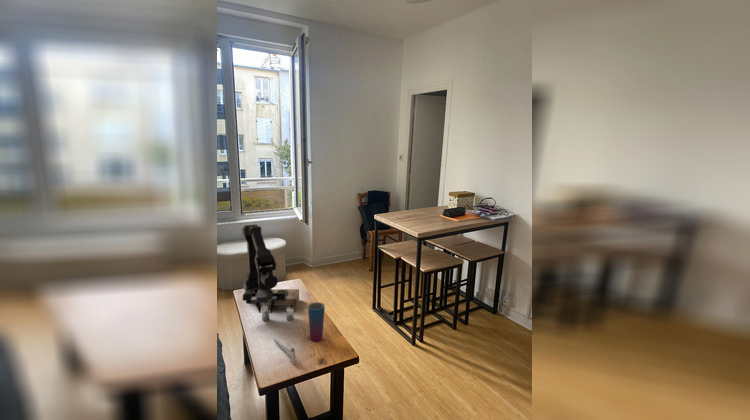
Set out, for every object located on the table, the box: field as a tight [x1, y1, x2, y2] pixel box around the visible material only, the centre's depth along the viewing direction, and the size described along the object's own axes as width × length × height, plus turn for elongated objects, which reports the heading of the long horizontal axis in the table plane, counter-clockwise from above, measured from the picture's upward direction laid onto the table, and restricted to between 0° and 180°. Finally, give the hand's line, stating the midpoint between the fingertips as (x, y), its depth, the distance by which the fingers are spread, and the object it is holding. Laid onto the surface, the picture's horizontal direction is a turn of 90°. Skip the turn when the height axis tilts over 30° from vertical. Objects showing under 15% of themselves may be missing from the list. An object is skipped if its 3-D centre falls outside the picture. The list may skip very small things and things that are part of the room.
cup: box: [307, 301, 326, 343], centre depth 155 cm, size 7×7×15 cm
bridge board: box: [268, 288, 300, 312], centre depth 186 cm, size 14×12×6 cm
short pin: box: [285, 307, 295, 322], centre depth 172 cm, size 3×3×5 cm
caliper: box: [273, 338, 297, 366], centre depth 145 cm, size 20×1×6 cm, turn 35°
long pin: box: [261, 301, 270, 322], centre depth 170 cm, size 3×3×9 cm
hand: (265, 312), depth 170 cm, fingers open, 5 cm apart
